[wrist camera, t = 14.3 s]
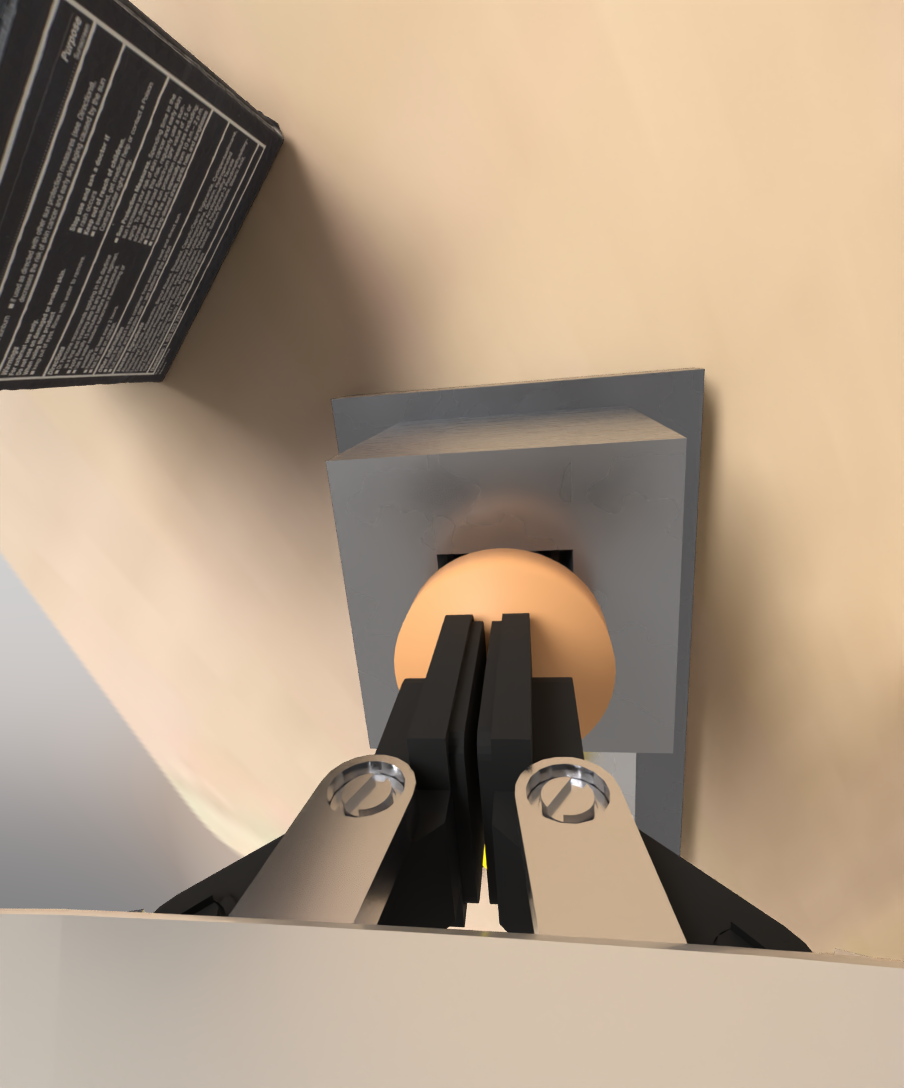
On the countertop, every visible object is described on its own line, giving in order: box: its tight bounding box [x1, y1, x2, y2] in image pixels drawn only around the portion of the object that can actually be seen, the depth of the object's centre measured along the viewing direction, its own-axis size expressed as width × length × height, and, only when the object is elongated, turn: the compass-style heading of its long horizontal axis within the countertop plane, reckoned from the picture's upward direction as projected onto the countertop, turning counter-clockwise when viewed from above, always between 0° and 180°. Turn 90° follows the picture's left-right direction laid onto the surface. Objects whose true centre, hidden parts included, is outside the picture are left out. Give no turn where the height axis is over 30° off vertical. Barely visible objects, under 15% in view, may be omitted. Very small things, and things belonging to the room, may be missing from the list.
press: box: [326, 368, 705, 867], centre depth 20 cm, size 13×22×10 cm, turn 5°
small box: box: [0, 0, 283, 390], centre depth 16 cm, size 11×6×10 cm, turn 143°
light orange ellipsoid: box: [394, 548, 616, 739], centre depth 15 cm, size 4×4×8 cm
